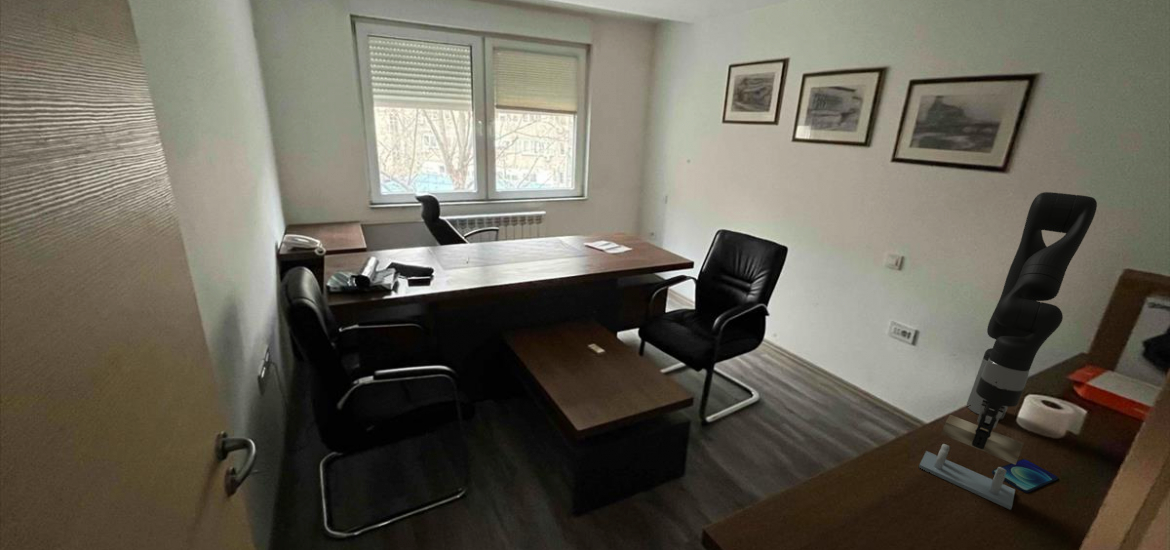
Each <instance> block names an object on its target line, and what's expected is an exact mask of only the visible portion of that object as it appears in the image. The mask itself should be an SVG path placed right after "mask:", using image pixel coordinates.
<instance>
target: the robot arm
mask: <svg viewBox="0 0 1170 550" xmlns="http://www.w3.org/2000/svg"><path fill="white" fill-rule="evenodd" d="M1097 207H1098V202H1097V200H1096V199H1095V198H1094V197H1092V196H1087V195H1081V194H1080V195H1079V194H1077V195H1076V194H1070V193H1063V192H1062V193H1060V192H1051V191H1048V192H1047V191H1045V192H1044V191H1043V192H1040V193H1039V194H1037V195H1036V196H1035V198H1034V199H1033V200H1032V202H1031V204H1030V206H1029V210H1028V212H1027V217H1026V220H1025V223H1024V228H1023V231H1022V236H1021V238H1020V241H1019V242H1020V243H1019V245H1018V248H1017V251H1016V253H1015V254H1014V258H1013V259H1012V263H1011V265H1010V267H1009V270H1008V273H1007V275H1006V278H1005V282H1004V285H1003V289H1002V291H1001V295H1000V297H999V300H998V302H997V304H996V306H995V309H994V310H993V313H992V315H991V317H990V319H989V322H988V324H987V329H986V330H987V331H986V332H987V335H988V337H990V338H992V339H994V340H995V341H994V344H993V347H992V348H987V349H986V350H985V352H984V353H983V354H984V355H983V356H982V357H983V358H982V360H981V363H980V366H979V369H978V372H977V374H976V376H975V379H974V383H973V386H972V388H971V391H970V394H969V396H968V399H967V402H966V407H967V406H969V405H971V406H969V407H967V408H968V409H969V410H970V411H971V412H973V413H975V414H977V415H978V417H977V420H976V422H977V423H978V424H977V425H978V427H977V429H976V430H975V432H976V434H975V437H974V440H973V442H972V445H973V446H974V447H977V448H979V449H984V447H985V444H986V441H987V439H988V438H989V437H990V436H991V431H993V429H996V427H997V426H998V422H999V420H1002V419H1004V417H1005V415H1006V412H1007V410H1008V409H1009V407H1010V408H1011V407H1016V406H1018V404H1019V401H1020V400H1021V396H1022V394H1023V392H1024V390H1025V389H1024V388H1025V387H1026V383H1027V382H1028V378H1029V373H1030V369H1031V367H1032V364H1033V362H1034V360H1035V358H1036V355H1037V353H1038V352H1039V350H1040V348H1041V347H1042V346H1043V345H1044V343H1045V342H1046V341H1047V340H1048V339H1049V337H1051V336H1052V334H1053V333H1055V331H1056V330H1057V329H1058V328H1059V327H1060V325H1061V324H1062V322H1063V318H1064V317H1063V316H1064V314H1063V312H1062V310H1061V309H1060V308H1059V307H1058V306H1057V305H1055V304H1051V303H1047V302H1046V301H1051V300H1053V299H1054V298H1056V297H1057V296H1058V294H1059V292H1060V289H1061V286H1062V284H1063V281H1064V278H1065V275H1066V272H1067V270H1068V267H1069V265H1070V263H1071V261H1072V260H1073V258H1074V256H1075V255H1076V253H1077V251H1078V250H1079V247H1080V245H1081V244H1082V242H1083V240H1084V238H1085V237H1086V235H1087V233H1088V231H1089V229H1090V227H1091V224H1092V223H1093V220H1094V217H1095V215H1096V211H1097ZM1042 231H1047V232H1053V233H1054V232H1055V233H1062V234H1065V235H1063V237H1061V238H1059V239H1058V240H1057V241H1055V242H1054V243H1052V244H1050V245H1048V246H1047V245H1046V242H1045V241H1044V238H1043V232H1042ZM980 428H984V429H987V430H988V431H985V430H983V429H980ZM974 447H973V448H974ZM979 449H978V450H979Z"/></svg>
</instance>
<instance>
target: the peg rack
mask: <svg viewBox="0 0 1170 550" xmlns="http://www.w3.org/2000/svg"><path fill="white" fill-rule="evenodd" d="M950 448H951V447H950V446H949V445H948V444H945V443H942V445H941V447H940V449H939V451H938V454H937V455H936V454H935V453H932V452H930V451H927V450H925V453H924V455H923V456H922V459H921V461H920V462H919V466H918V468H919V469H920V468H921V469H920V470H922V469H923V471H924V470H925V472H927V473H929V472H930V473H929V474H932V475H933V476H936V477H938V478H940V479H943V480H944V481H946V482H948V483H951V484H952V485H955V486H957V487H960V488H962V489H964V490H967V491H969V492H970V493H973V494H975V495H977V496H979V497H982V498H984V499H986V500H987V501H991V502H992V503H995V504H997V505H998V506H1001V507H1002V508H1006V509H1008V510H1010V511H1012V508H1013V504H1014V498H1015V492H1016V488H1012V487H1010V486H1008V485H1006V484H1004V482H1005V481H1004V479H1005V474H1006V470H1005V469H1004V468H1001V467H1002V466H997V468H996V469H997V471H996V473H995V475H993V476H994V477H993V478H990V477H988V476H986V475H983V474H980V473H978V472H976V471H973V470H972V469H969V468H967V467H964V466H962V465H960V464H957V463H956V462H953V461H950V460H949V459H947V456H948V455H949V451H950Z"/></svg>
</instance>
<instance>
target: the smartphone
mask: <svg viewBox="0 0 1170 550" xmlns="http://www.w3.org/2000/svg"><path fill="white" fill-rule="evenodd" d="M1000 467H1001V468H1004V469H1005V470H1006V474H1005V479H1004V481H1003V482H1005V483H1007V484H1008V485H1011V486H1012V487H1014V489H1017V490H1019V491H1021V492H1023V493H1025V494H1028V493H1031V492H1033V491H1035V490H1037V489H1040V488H1041V487H1044V486H1047V485H1049V484H1051V483H1053V482H1055V481H1058V479H1059V477H1058V476H1057V475H1056V474H1054V473H1052V472H1050V471H1048V470H1047V469H1044V468H1042V467H1041V466H1039V465H1037V464H1036V463H1033V462H1032V461H1030V460H1028V459H1025V458H1021V459H1018V460H1017V463H1016V465H1015V464H1012V463H1010V462H1009V463H1008V464H1005V465H1003V466H1000ZM996 471H997V468H995V469H993V470H992V471H991V473H992V475H993V476H995V473H996Z"/></svg>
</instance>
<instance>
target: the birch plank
mask: <svg viewBox="0 0 1170 550" xmlns="http://www.w3.org/2000/svg"><path fill="white" fill-rule="evenodd" d="M978 425H979V424H975V423H973V422H970V421H968V420H966V419H962V418H960V417H957V416H956V415H955V416H954V415H952V414H949V416H948V418H947V419H946V420H945V421H944V426H943V428H942V431H941V435H944V436H946V437H948V438H951V439H953V440H955V441H957V442H960V443H963V444H965V445H968V446H969V447H972V448H975V449H976V450H979V451H982V452H984V453H986V454H989V455H991V456H994V457H996V458H998V459H1001V460H1003V461H1005V462H1008V463H1009V464H1010V463H1012V464H1015V465H1016V463H1017V461H1018V460H1019V457H1020V455H1021V453H1022V449H1023V447H1024V445H1025V444H1024V442H1021V441H1019V440H1017V439H1013V438H1011V437H1009V436H1006V435H1004V434H1001V433H999V432H997V431H993V430H992V431H991V436H990V437H989V438H988V439H987V441H986V444H985V447H984V449H979V448H977V447H974V446H973V445H972V442H973V440H974V437H975V434H976V432H975V430H976V429H977V427H978ZM980 429H983V430H985V431H988V430H987V429H984V428H980Z"/></svg>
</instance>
